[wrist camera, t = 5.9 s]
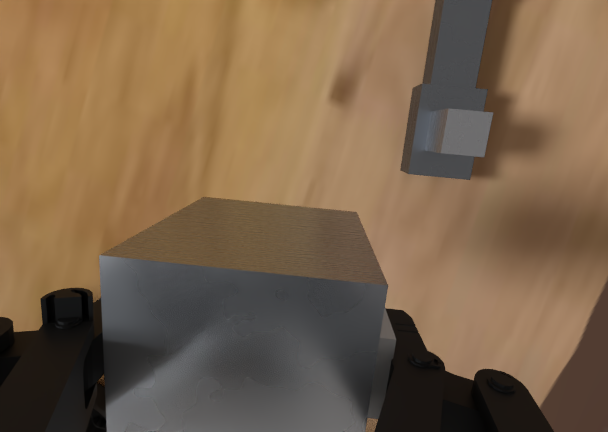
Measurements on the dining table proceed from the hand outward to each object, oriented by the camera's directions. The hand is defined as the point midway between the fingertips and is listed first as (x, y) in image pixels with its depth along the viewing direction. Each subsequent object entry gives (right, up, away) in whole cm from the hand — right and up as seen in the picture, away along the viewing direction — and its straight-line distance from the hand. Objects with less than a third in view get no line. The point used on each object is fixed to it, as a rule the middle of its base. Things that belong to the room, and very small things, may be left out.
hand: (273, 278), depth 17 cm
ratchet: (+14, +18, +13) cm, 26 cm away
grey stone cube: (0, 0, 0) cm, 0 cm away
